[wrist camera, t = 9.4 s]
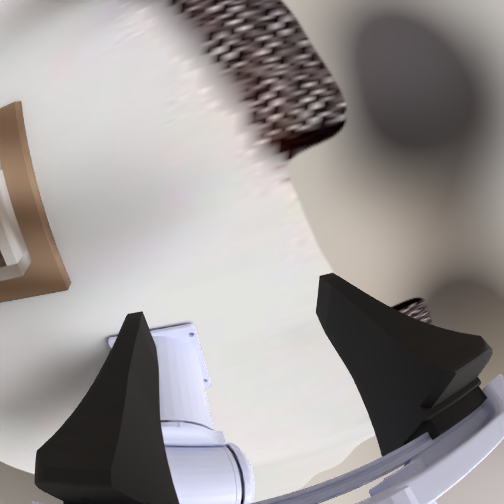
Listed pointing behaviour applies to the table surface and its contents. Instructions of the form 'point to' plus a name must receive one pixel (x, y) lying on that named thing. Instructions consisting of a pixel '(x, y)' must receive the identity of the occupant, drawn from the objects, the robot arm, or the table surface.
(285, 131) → the table surface
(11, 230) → the walnut housing
